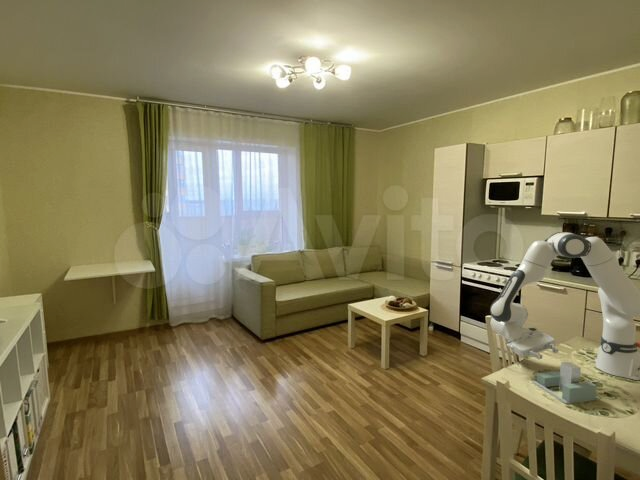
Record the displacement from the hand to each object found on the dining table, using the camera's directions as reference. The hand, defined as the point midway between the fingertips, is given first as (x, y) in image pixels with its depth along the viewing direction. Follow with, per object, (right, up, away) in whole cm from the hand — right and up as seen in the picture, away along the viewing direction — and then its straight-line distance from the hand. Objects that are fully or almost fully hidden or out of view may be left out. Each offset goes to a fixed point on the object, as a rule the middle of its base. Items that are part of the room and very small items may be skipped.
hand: (549, 354), depth 147 cm
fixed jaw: (0, -12, -9) cm, 15 cm away
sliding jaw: (-1, -11, -3) cm, 12 cm away
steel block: (+1, -12, -11) cm, 16 cm away
